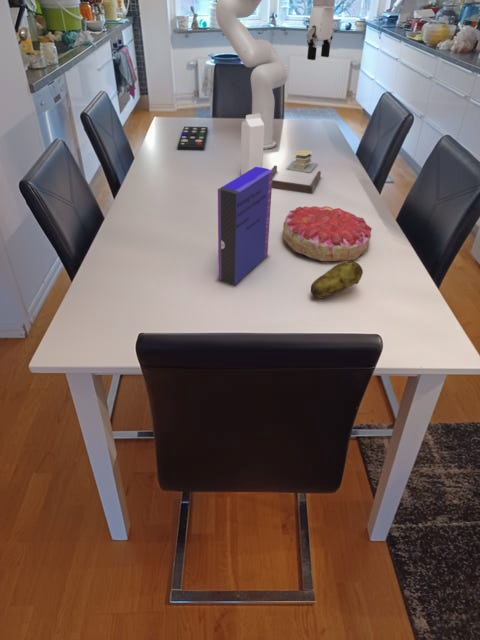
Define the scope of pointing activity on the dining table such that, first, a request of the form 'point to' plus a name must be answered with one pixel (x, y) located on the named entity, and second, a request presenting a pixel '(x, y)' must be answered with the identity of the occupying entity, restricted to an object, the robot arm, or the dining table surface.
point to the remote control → (193, 138)
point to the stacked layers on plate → (302, 161)
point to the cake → (326, 233)
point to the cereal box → (243, 224)
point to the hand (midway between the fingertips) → (318, 58)
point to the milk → (252, 143)
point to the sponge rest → (295, 184)
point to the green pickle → (337, 279)
